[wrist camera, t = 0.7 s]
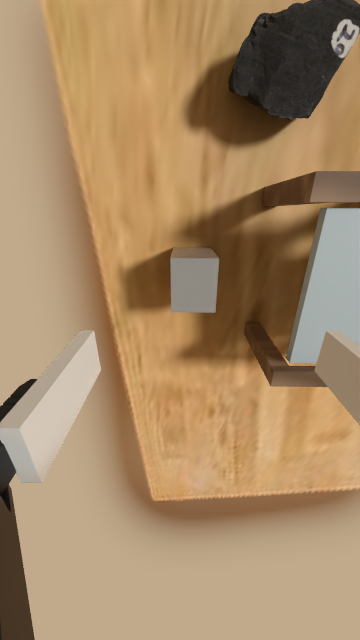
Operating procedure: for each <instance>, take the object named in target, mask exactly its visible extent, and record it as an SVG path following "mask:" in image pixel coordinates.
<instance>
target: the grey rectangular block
mask: <svg viewBox="0 0 360 640" xmlns="http://www.w3.org/2000/svg"><path fill="white" fill-rule="evenodd" d="M170 267H171V312H204V313H215V312H216V298H217V284H218V270H219V257H218V256H217V255H216V254H215V252H214V251H213V250H212V248H177V247H173V250H172V254H171V258H170Z"/></svg>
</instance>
